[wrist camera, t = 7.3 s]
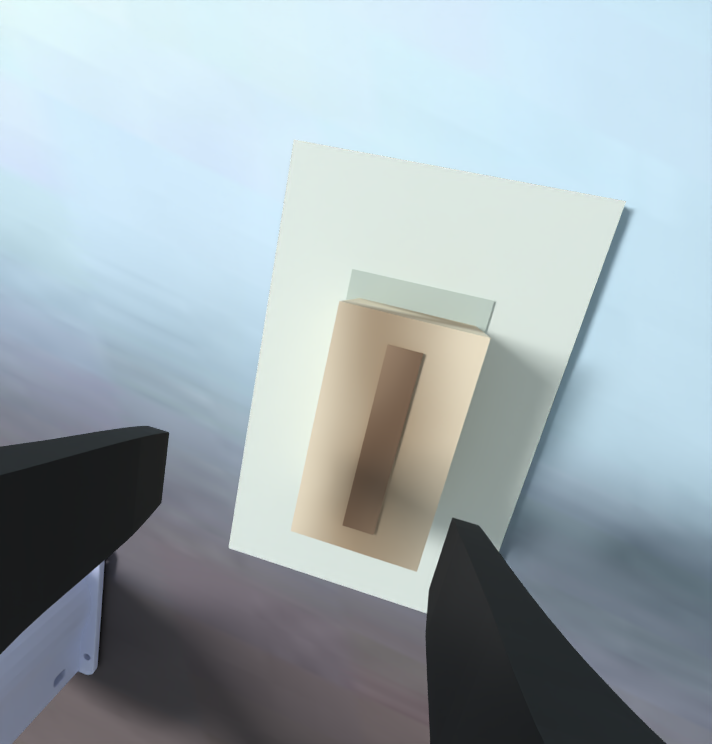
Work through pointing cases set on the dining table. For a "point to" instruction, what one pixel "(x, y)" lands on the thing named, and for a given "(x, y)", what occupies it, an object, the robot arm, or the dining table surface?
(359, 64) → the dining table surface
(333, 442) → the card box
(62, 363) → the dining table surface
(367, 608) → the dining table surface
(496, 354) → the mat
